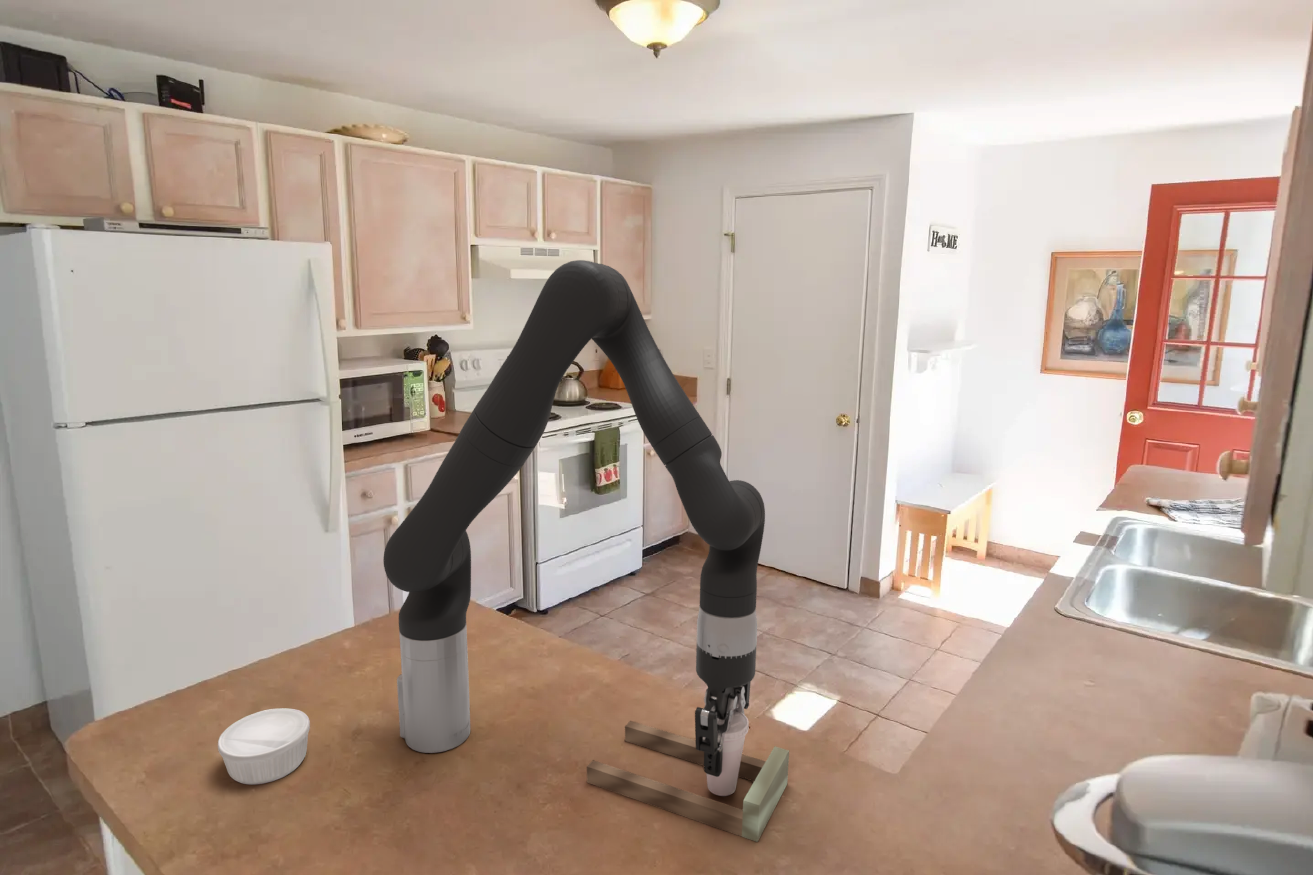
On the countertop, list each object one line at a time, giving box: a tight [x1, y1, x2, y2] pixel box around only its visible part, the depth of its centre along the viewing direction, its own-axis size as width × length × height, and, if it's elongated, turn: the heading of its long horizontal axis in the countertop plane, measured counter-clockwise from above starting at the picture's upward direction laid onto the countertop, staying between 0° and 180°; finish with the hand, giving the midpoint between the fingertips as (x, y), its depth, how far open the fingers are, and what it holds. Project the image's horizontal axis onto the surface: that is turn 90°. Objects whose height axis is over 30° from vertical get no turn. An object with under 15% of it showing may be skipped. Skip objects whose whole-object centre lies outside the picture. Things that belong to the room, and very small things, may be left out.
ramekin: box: [217, 707, 311, 786], centre depth 104 cm, size 11×11×5 cm
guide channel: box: [586, 720, 790, 843], centre depth 101 cm, size 24×12×5 cm, turn 64°
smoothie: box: [705, 710, 749, 797], centre depth 98 cm, size 6×6×14 cm
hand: (722, 758), depth 99 cm, fingers closed on smoothie, 6 cm apart
